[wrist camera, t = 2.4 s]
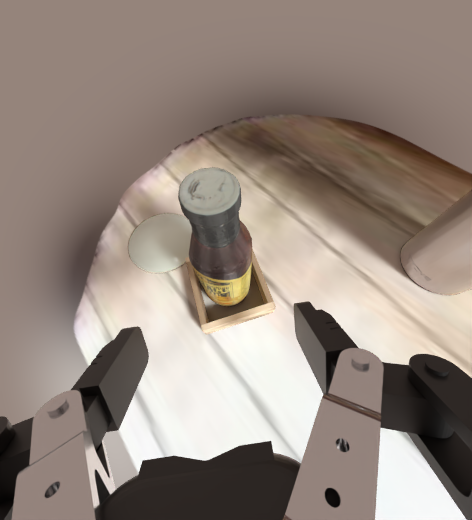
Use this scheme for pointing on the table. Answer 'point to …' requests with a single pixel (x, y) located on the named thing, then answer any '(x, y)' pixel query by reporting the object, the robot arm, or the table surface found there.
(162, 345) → the table surface
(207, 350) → the table surface
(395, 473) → the table surface
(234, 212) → the sauce bottle
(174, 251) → the trivet
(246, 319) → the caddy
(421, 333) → the table surface
